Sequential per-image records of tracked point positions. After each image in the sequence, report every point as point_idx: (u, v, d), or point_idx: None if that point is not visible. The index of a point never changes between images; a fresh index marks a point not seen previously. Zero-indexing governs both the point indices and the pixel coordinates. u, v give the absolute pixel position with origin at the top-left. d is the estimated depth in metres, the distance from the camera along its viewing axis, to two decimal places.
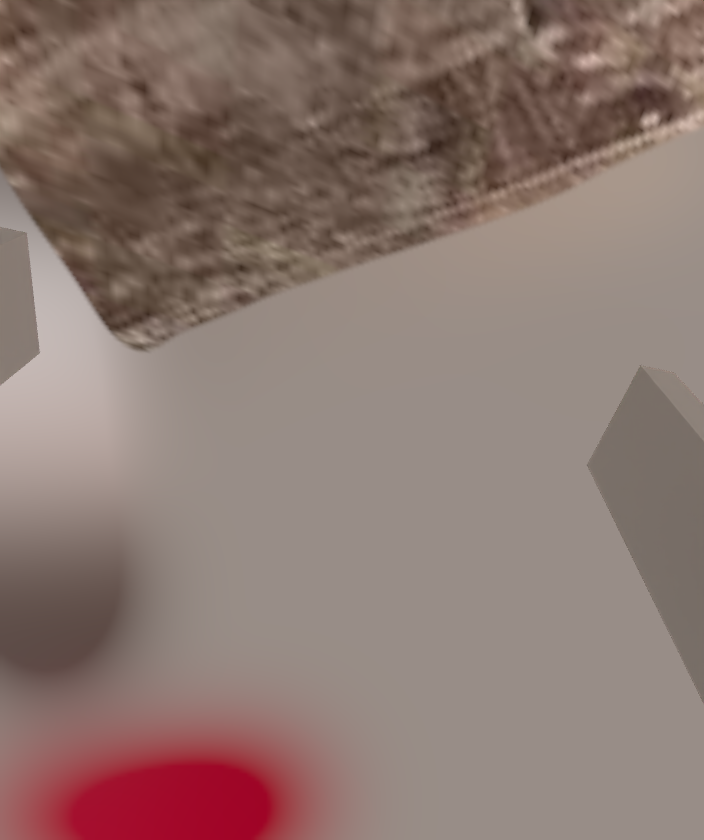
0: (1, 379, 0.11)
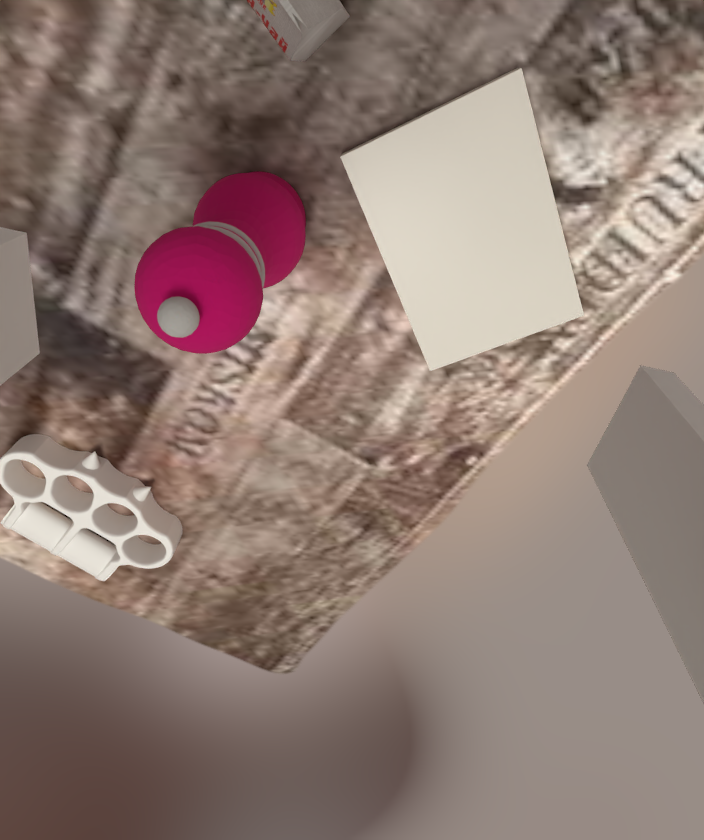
0: (1, 379, 0.11)
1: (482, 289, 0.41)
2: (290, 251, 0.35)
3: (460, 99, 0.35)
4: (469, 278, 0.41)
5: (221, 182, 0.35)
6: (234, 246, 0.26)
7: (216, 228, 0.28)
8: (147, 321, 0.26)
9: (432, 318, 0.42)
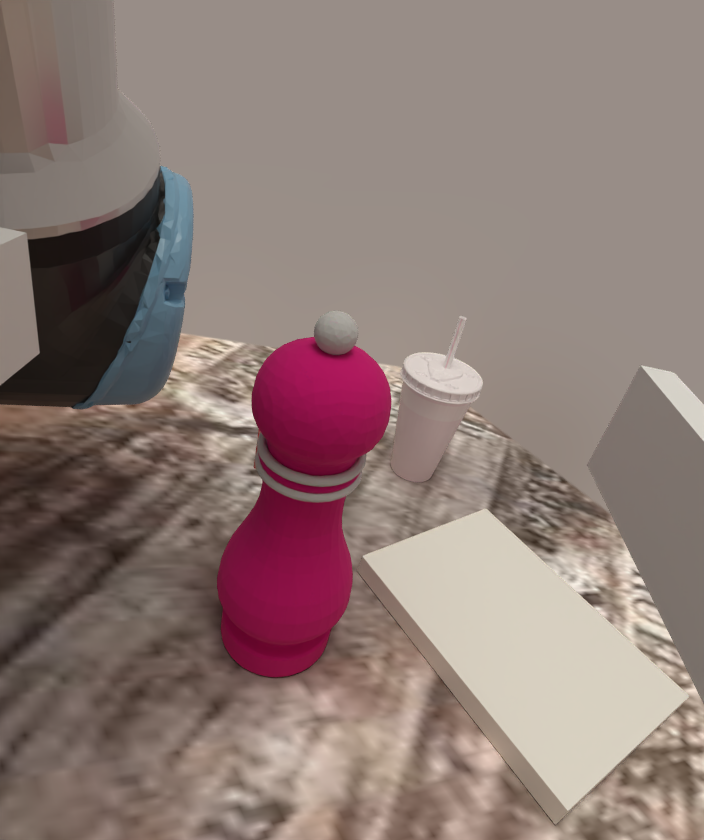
0: (1, 379, 0.11)
1: (561, 673, 0.33)
2: (348, 555, 0.30)
3: (451, 522, 0.41)
4: (540, 661, 0.33)
5: None
6: None
7: None
8: (280, 370, 0.22)
9: (525, 717, 0.30)
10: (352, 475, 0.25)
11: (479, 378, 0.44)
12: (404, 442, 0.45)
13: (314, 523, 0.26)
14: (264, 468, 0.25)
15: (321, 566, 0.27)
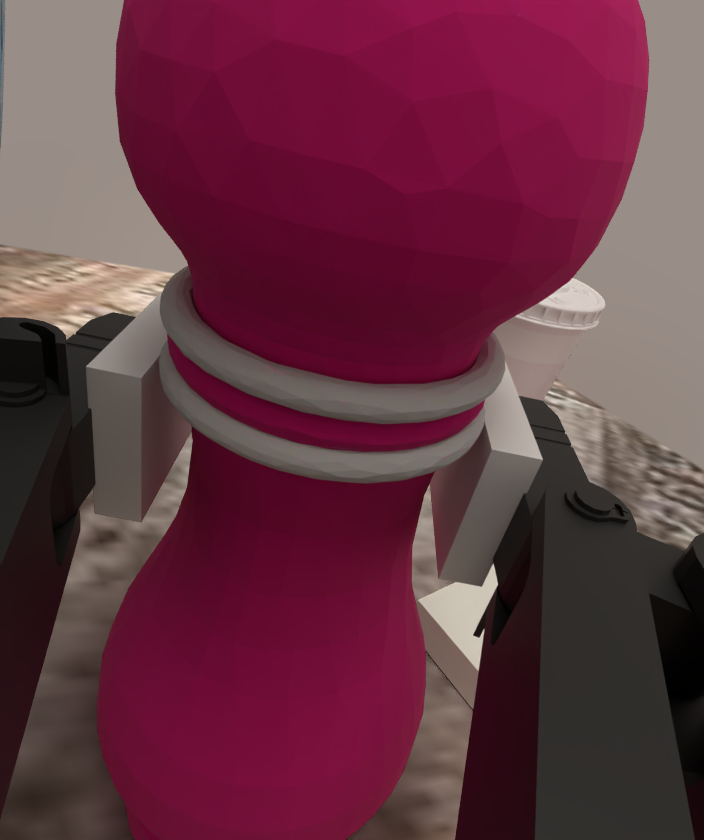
0: None
1: None
2: (420, 623, 0.12)
3: None
4: None
5: None
6: None
7: None
8: None
9: None
10: (481, 390, 0.07)
11: (596, 294, 0.26)
12: None
13: (346, 553, 0.08)
14: (179, 369, 0.07)
15: (360, 669, 0.10)
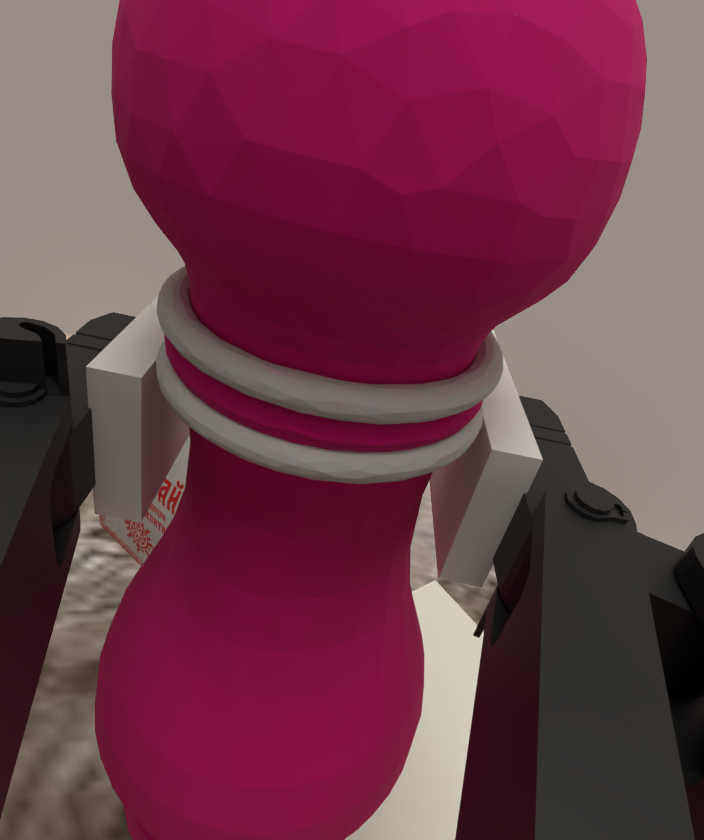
0: None
1: None
2: (418, 623, 0.12)
3: None
4: None
5: None
6: None
7: None
8: None
9: None
10: (479, 390, 0.07)
11: None
12: None
13: (344, 554, 0.08)
14: (177, 369, 0.07)
15: (357, 670, 0.10)
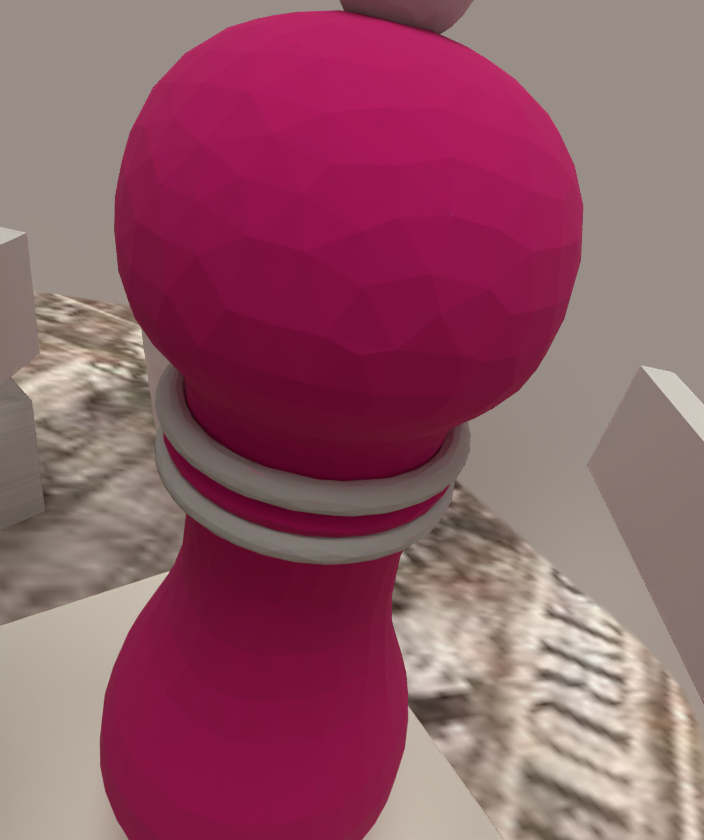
0: (1, 379, 0.11)
1: None
2: (402, 662, 0.13)
3: None
4: None
5: None
6: None
7: None
8: (193, 64, 0.06)
9: None
10: (444, 478, 0.08)
11: None
12: (157, 420, 0.27)
13: (326, 615, 0.09)
14: (173, 458, 0.08)
15: (342, 716, 0.10)
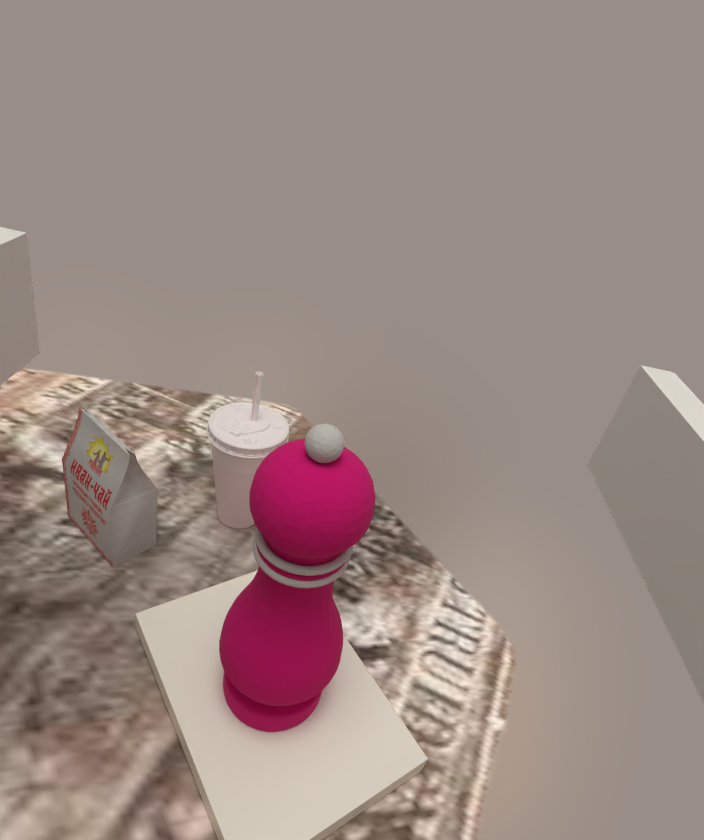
0: (1, 379, 0.11)
1: (298, 736, 0.33)
2: (339, 622, 0.32)
3: (247, 574, 0.42)
4: None
5: None
6: None
7: None
8: (274, 478, 0.25)
9: (239, 784, 0.31)
10: (340, 563, 0.27)
11: (285, 430, 0.44)
12: (218, 491, 0.46)
13: (306, 603, 0.29)
14: (261, 556, 0.27)
15: (312, 638, 0.30)
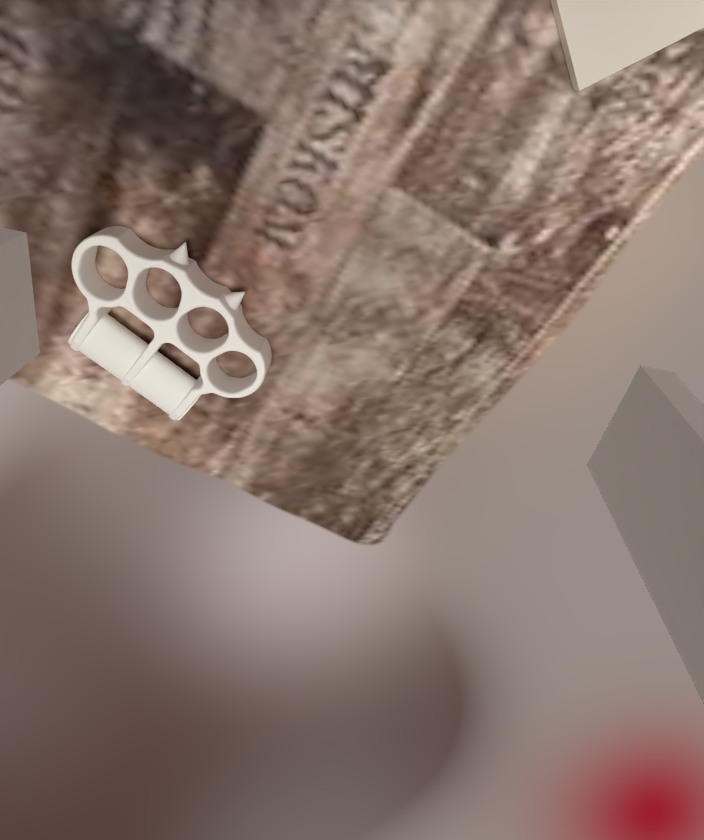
0: (1, 379, 0.11)
1: None
2: None
3: None
4: None
5: None
6: None
7: None
8: None
9: (589, 9, 0.35)
10: None
11: None
12: None
13: None
14: None
15: None
